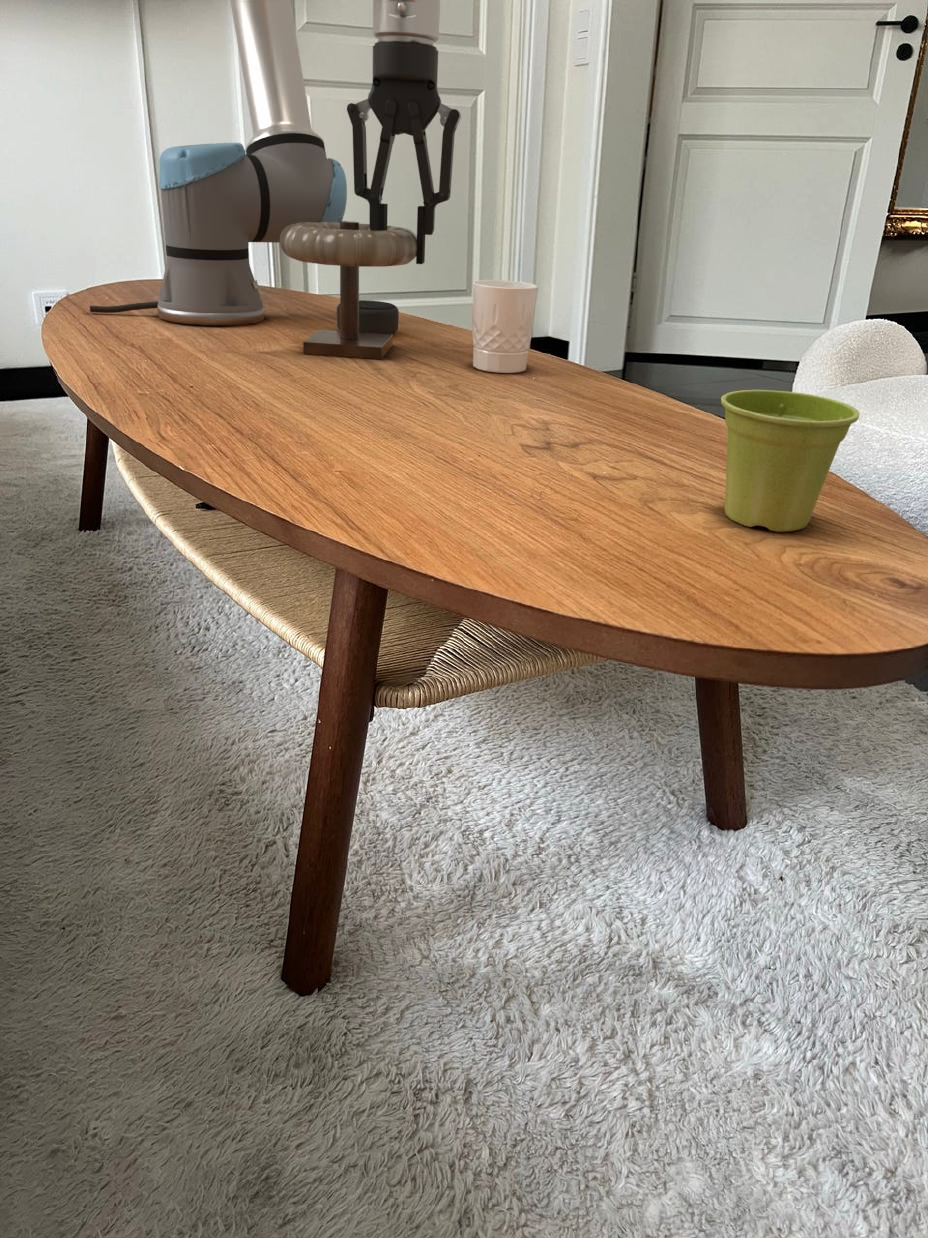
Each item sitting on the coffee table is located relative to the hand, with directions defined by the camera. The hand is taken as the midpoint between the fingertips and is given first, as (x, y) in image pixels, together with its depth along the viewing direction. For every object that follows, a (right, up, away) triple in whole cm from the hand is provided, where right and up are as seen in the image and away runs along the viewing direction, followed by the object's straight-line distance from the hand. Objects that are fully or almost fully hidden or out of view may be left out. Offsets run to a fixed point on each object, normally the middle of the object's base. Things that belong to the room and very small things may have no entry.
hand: (401, 261), depth 113 cm
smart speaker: (-6, -3, +18) cm, 19 cm away
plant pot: (+31, -38, -45) cm, 66 cm away
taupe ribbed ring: (-6, +2, 0) cm, 7 cm away
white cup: (+12, -14, 0) cm, 18 cm away
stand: (-7, -10, +5) cm, 13 cm away
